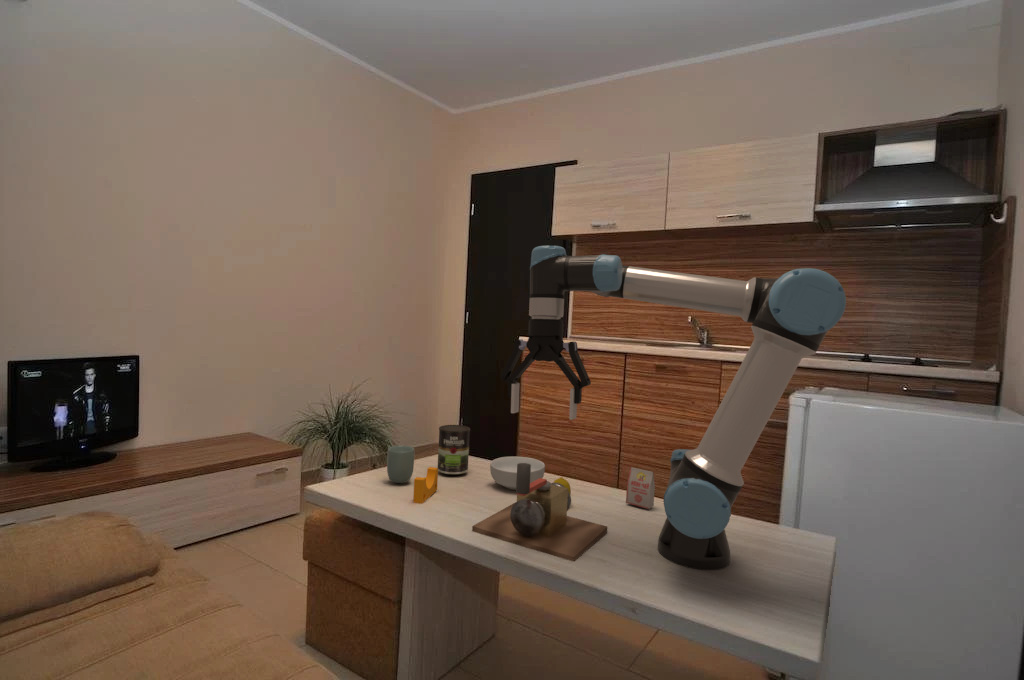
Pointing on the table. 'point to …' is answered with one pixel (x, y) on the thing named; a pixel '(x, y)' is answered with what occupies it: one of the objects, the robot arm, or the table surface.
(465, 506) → the table surface
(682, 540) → the robot arm
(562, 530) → the mount board
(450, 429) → the coffee can
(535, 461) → the cereal bowl
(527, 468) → the lever
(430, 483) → the orange arch block
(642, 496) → the white red food package
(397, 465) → the cup
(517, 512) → the valve
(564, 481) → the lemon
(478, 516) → the table surface
